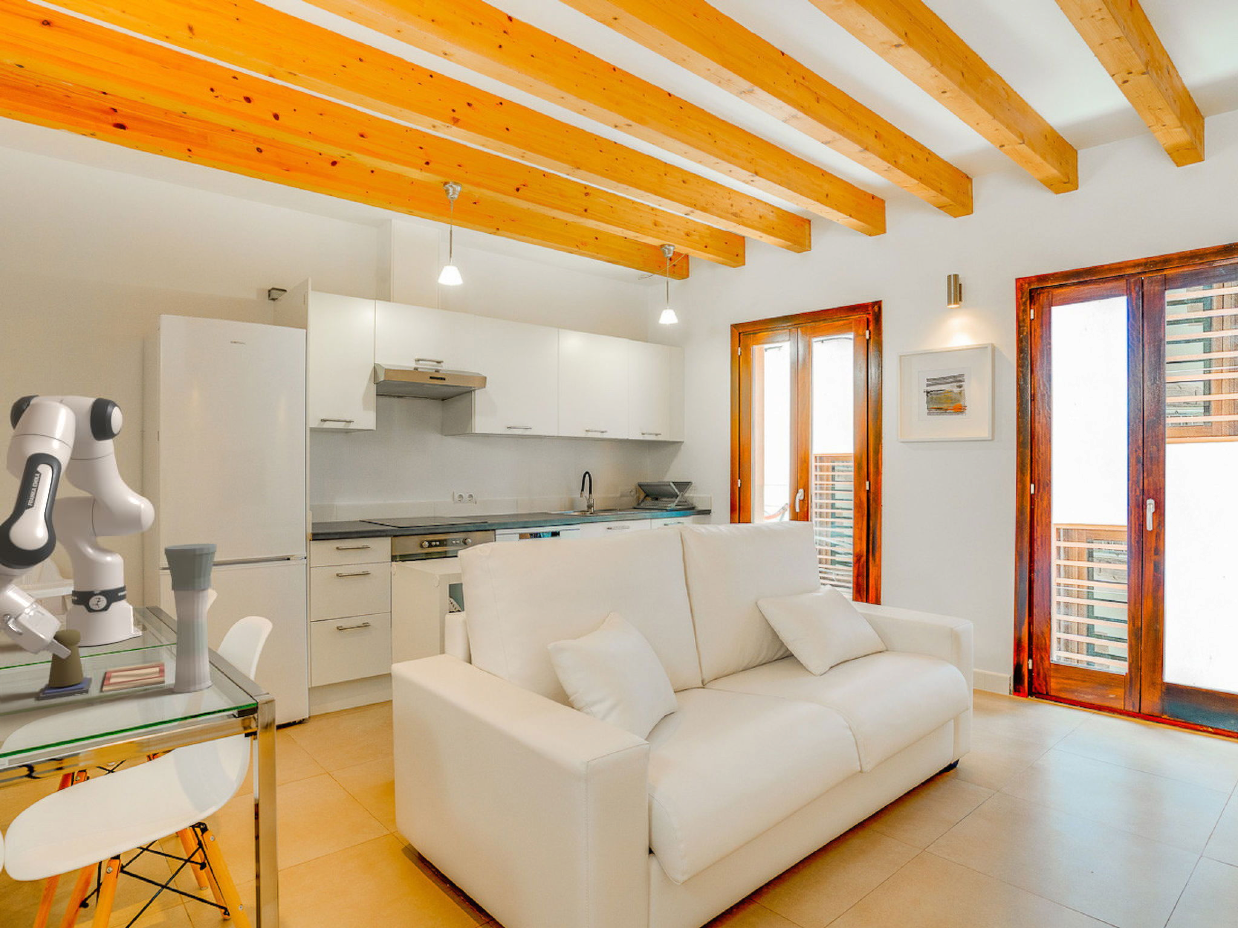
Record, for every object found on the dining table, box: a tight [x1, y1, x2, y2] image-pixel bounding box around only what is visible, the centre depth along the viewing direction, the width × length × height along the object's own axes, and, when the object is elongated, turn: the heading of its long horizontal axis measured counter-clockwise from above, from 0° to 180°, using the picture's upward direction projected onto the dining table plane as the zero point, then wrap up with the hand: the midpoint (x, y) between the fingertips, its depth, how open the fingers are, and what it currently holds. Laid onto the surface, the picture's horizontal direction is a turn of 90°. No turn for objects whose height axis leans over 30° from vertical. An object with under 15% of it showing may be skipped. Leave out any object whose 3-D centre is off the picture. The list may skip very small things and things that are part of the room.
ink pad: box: [38, 676, 93, 701], centre depth 152 cm, size 10×8×1 cm
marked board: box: [102, 661, 166, 693], centre depth 161 cm, size 18×11×1 cm, turn 32°
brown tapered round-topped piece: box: [47, 629, 85, 687], centre depth 152 cm, size 6×6×11 cm
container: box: [164, 543, 217, 694], centre depth 153 cm, size 10×10×30 cm
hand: (69, 652), depth 153 cm, fingers closed on brown tapered round-topped piece, 4 cm apart
